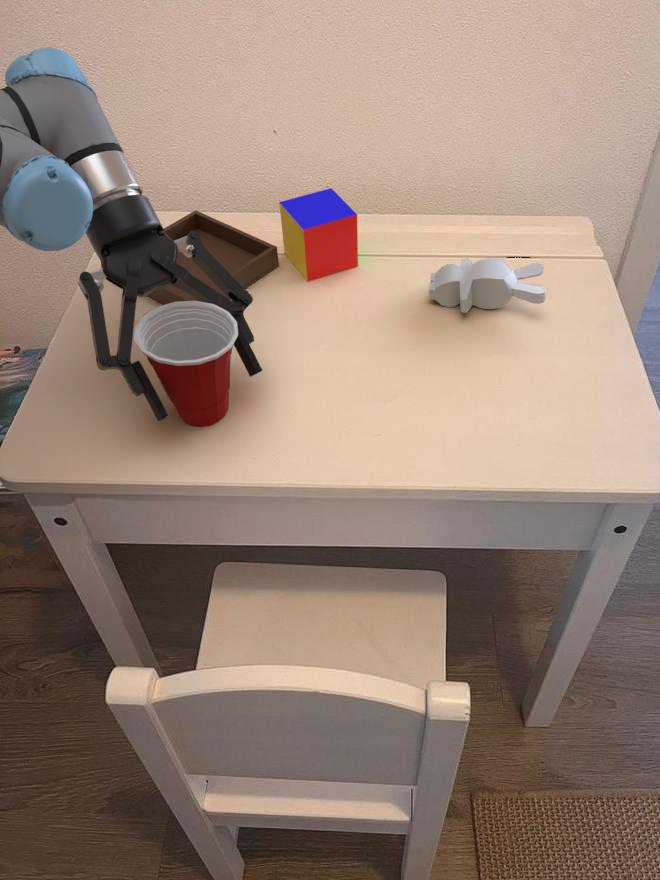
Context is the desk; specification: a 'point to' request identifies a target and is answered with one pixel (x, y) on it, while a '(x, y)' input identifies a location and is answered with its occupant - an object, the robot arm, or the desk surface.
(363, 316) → the desk surface
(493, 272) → the bunny figurine
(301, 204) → the cube
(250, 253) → the tray
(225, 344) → the plastic cup
